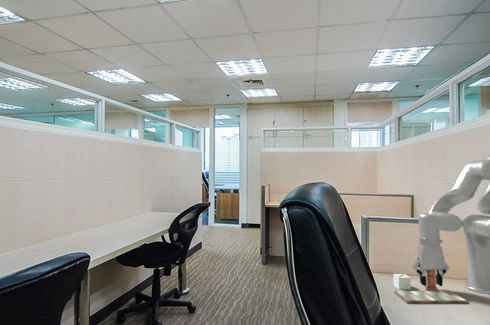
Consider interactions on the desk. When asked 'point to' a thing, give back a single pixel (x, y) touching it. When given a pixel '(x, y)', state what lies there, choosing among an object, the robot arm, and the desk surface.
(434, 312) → the desk surface
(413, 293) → the board
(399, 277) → the die
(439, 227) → the robot arm
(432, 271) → the pawn
